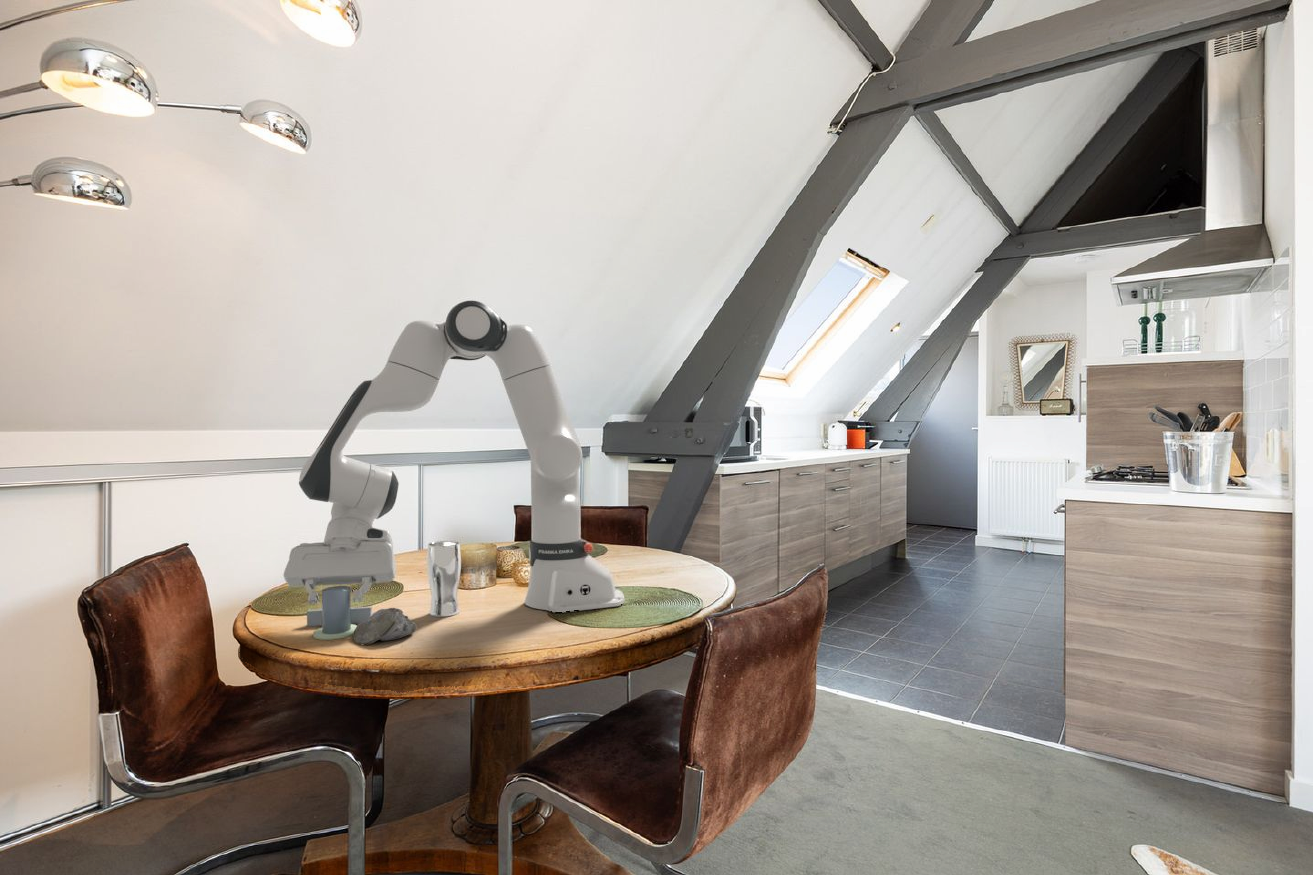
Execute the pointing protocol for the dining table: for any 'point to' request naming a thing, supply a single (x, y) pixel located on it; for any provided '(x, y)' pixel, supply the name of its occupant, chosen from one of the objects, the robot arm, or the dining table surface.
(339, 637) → the coaster
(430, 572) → the beer glass
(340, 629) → the blue-grey cylinder
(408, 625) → the fossilized seashell
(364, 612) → the wall
